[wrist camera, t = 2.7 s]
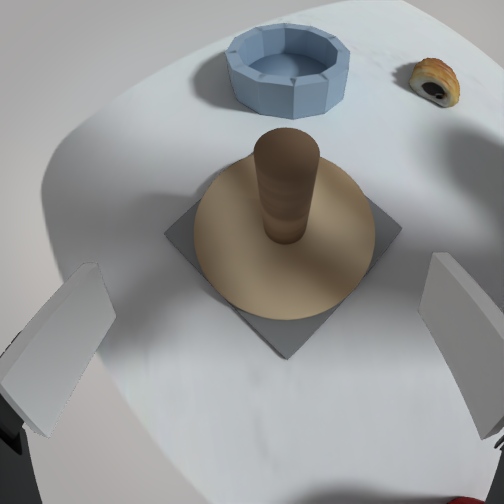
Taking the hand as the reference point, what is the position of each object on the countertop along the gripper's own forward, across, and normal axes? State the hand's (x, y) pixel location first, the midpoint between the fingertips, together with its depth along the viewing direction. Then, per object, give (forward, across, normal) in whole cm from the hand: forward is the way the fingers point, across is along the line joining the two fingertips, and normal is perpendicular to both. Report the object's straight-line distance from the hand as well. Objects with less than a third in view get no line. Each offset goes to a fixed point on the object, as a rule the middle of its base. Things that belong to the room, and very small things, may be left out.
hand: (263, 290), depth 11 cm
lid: (+13, +1, -3) cm, 13 cm away
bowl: (+26, +3, +10) cm, 28 cm away
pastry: (+27, +22, +11) cm, 36 cm away
